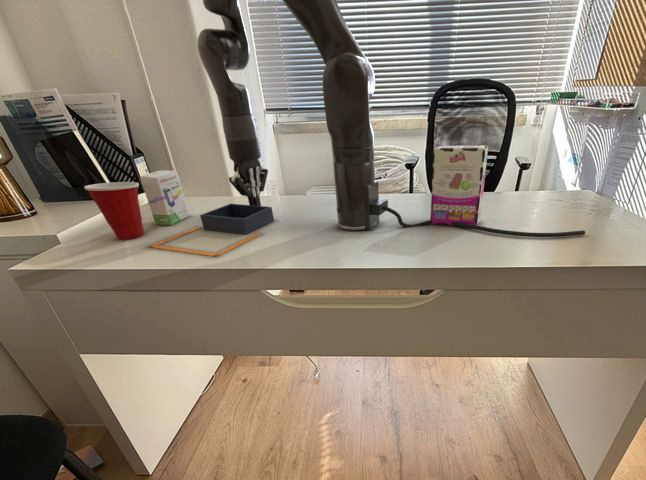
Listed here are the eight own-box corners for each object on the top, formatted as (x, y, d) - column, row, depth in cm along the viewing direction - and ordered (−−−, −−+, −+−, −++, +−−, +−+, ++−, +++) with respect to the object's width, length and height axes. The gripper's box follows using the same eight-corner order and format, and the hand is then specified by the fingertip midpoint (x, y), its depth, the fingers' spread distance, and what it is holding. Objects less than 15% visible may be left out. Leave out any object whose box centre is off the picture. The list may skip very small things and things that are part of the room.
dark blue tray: (274, 220, 100) (271, 206, 98) (246, 234, 91) (243, 219, 89) (233, 216, 104) (230, 203, 102) (203, 229, 96) (199, 215, 94)
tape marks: (260, 234, 91) (260, 234, 91) (216, 256, 80) (216, 256, 80) (197, 227, 97) (196, 227, 97) (148, 247, 86) (148, 246, 86)
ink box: (174, 215, 107) (159, 169, 101) (191, 216, 106) (177, 169, 100) (154, 225, 101) (137, 176, 94) (172, 225, 100) (155, 176, 93)
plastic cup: (165, 231, 96) (148, 179, 89) (127, 245, 88) (104, 189, 81) (136, 227, 100) (117, 177, 93) (96, 240, 92) (72, 186, 85)
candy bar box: (480, 221, 92) (489, 144, 83) (476, 228, 88) (486, 148, 79) (434, 218, 96) (438, 144, 86) (429, 224, 92) (432, 147, 83)
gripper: (235, 141, 86) (251, 219, 96) (270, 133, 96) (282, 205, 106) (209, 140, 89) (228, 216, 99) (246, 133, 99) (260, 203, 109)
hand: (256, 210), depth 102 cm, fingers closed
